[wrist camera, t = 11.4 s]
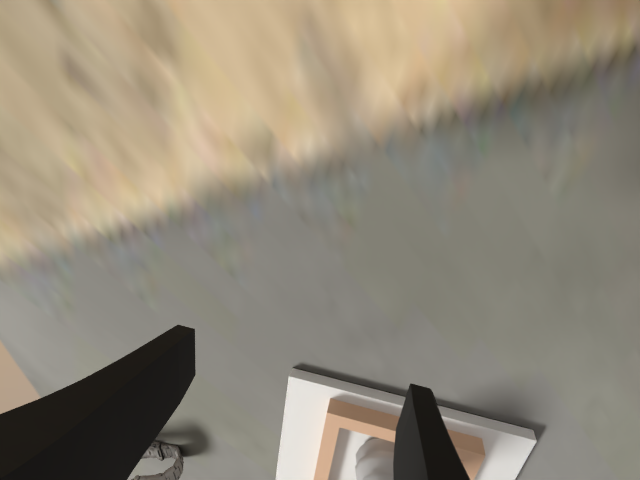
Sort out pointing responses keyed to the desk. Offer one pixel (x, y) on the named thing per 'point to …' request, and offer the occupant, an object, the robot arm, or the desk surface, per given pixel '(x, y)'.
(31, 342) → the desk surface
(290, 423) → the socket holder
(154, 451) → the wristwatch
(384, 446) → the rook chess piece
